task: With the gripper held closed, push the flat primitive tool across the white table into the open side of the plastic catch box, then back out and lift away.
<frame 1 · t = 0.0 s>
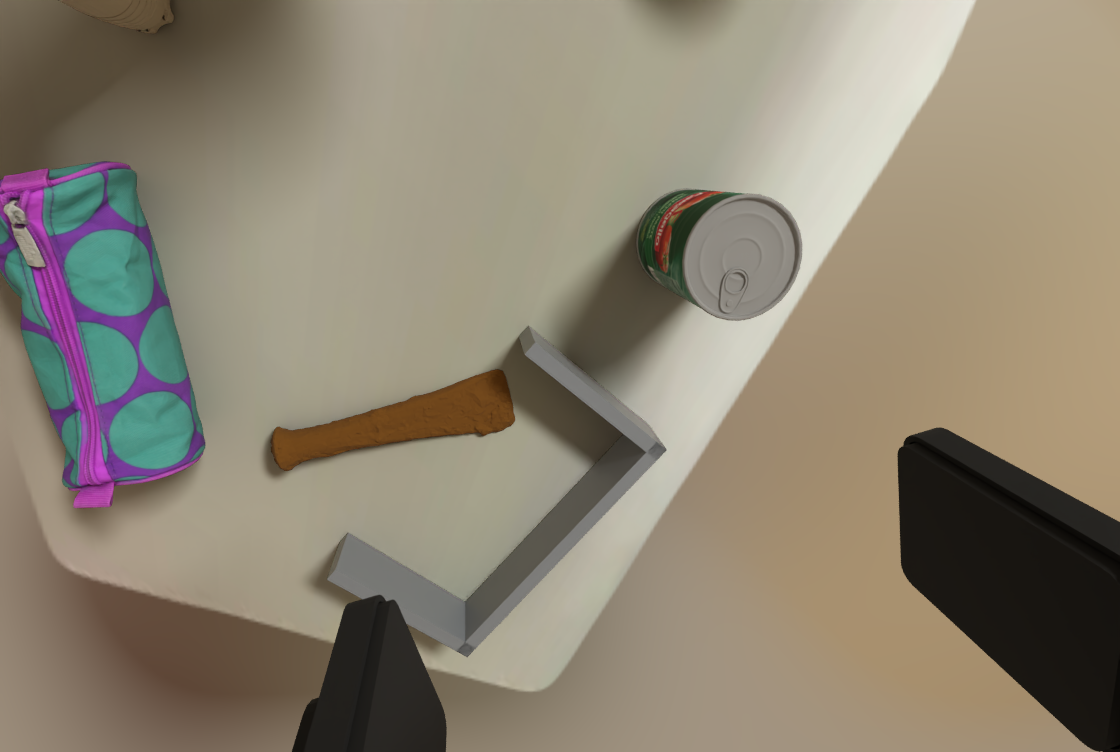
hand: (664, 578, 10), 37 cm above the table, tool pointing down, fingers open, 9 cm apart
pencil case: (137, 315, 43), on the table
catch box: (494, 482, 51), on the table
canned tomato: (682, 240, 47), on the table
primitive tool: (400, 412, 48), on the table
handle: (150, 6, 37), on the table
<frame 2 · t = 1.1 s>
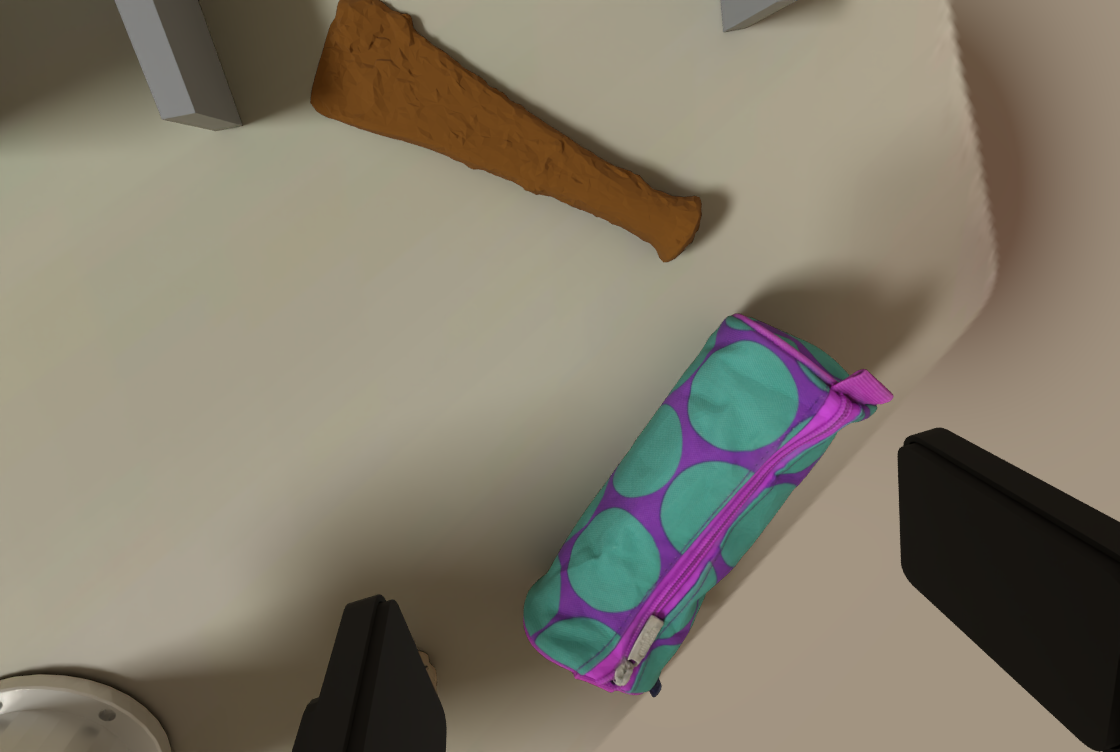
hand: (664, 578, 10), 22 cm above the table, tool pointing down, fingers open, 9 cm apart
pencil case: (660, 464, 36), on the table
primitive tool: (510, 153, 29), on the table
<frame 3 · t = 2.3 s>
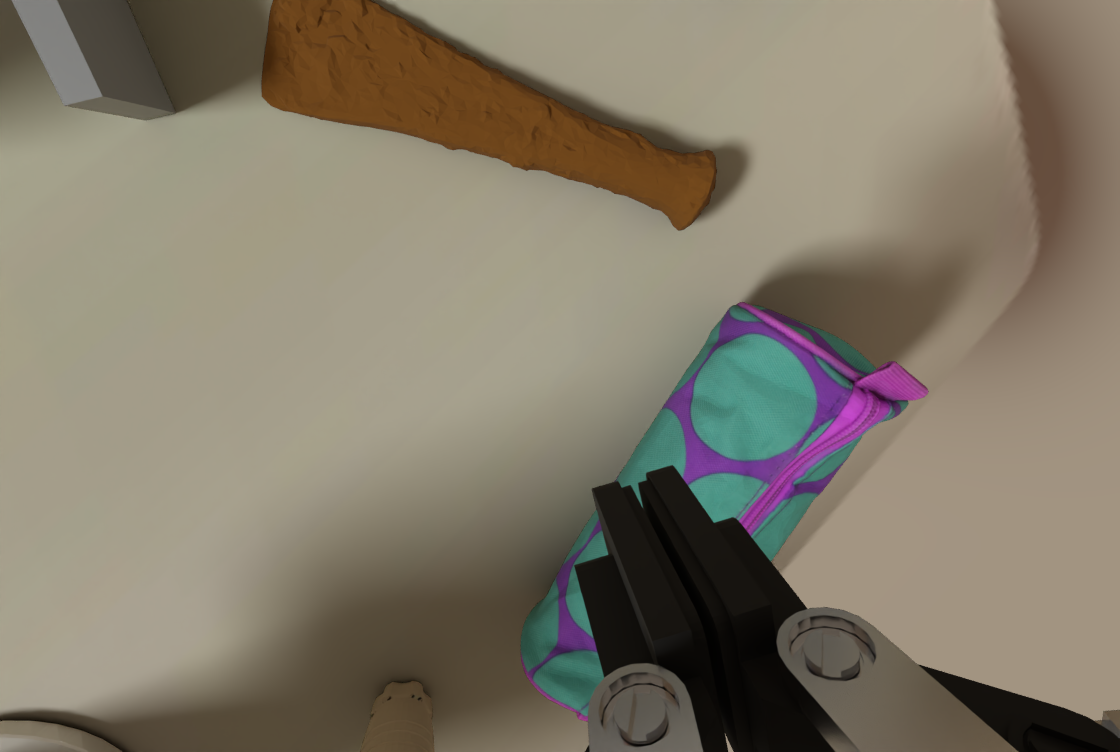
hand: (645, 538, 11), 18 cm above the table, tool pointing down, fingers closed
pencil case: (665, 471, 32), on the table
primitive tool: (492, 126, 26), on the table
handle: (404, 694, 34), on the table
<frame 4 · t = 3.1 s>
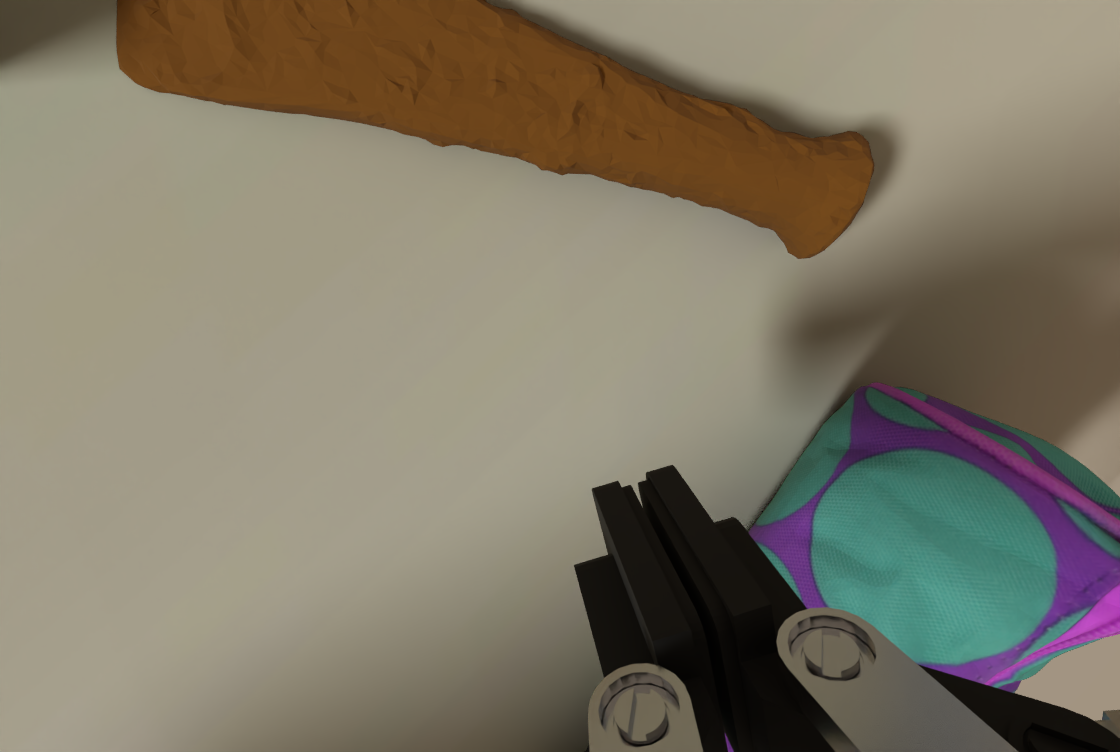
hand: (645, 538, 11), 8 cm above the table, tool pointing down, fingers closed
pencil case: (740, 602, 23), on the table
primitive tool: (504, 108, 16), on the table
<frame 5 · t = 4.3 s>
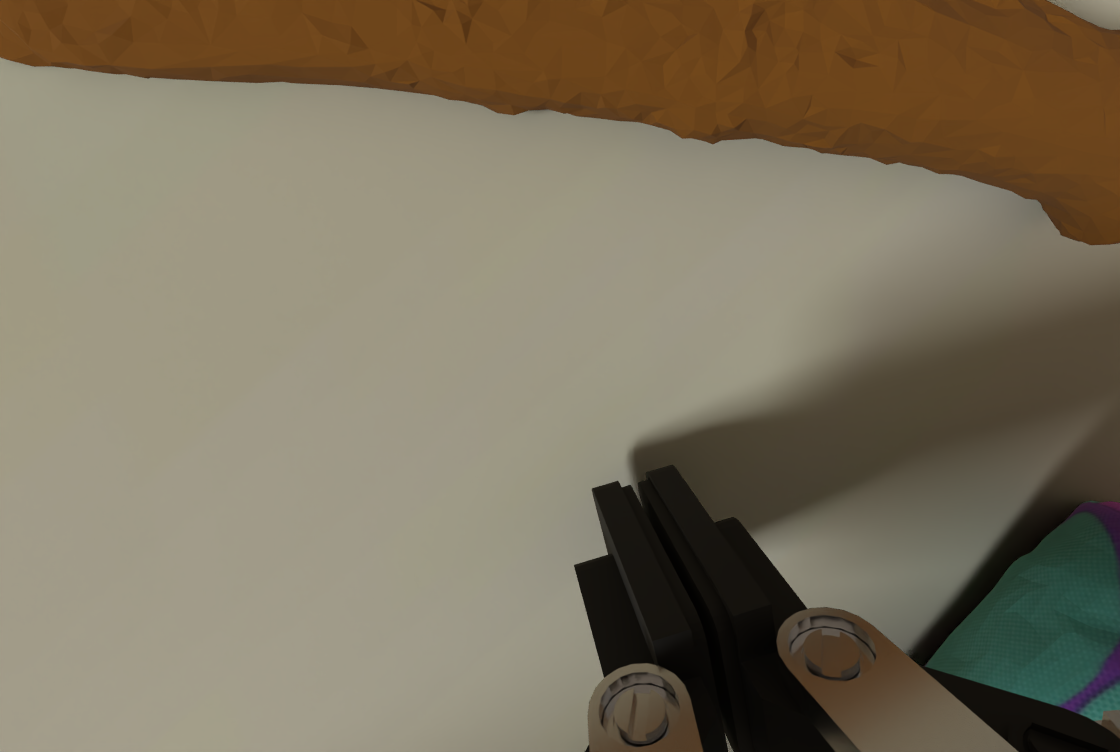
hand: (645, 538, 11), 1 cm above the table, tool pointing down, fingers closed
primitive tool: (602, 43, 10), on the table
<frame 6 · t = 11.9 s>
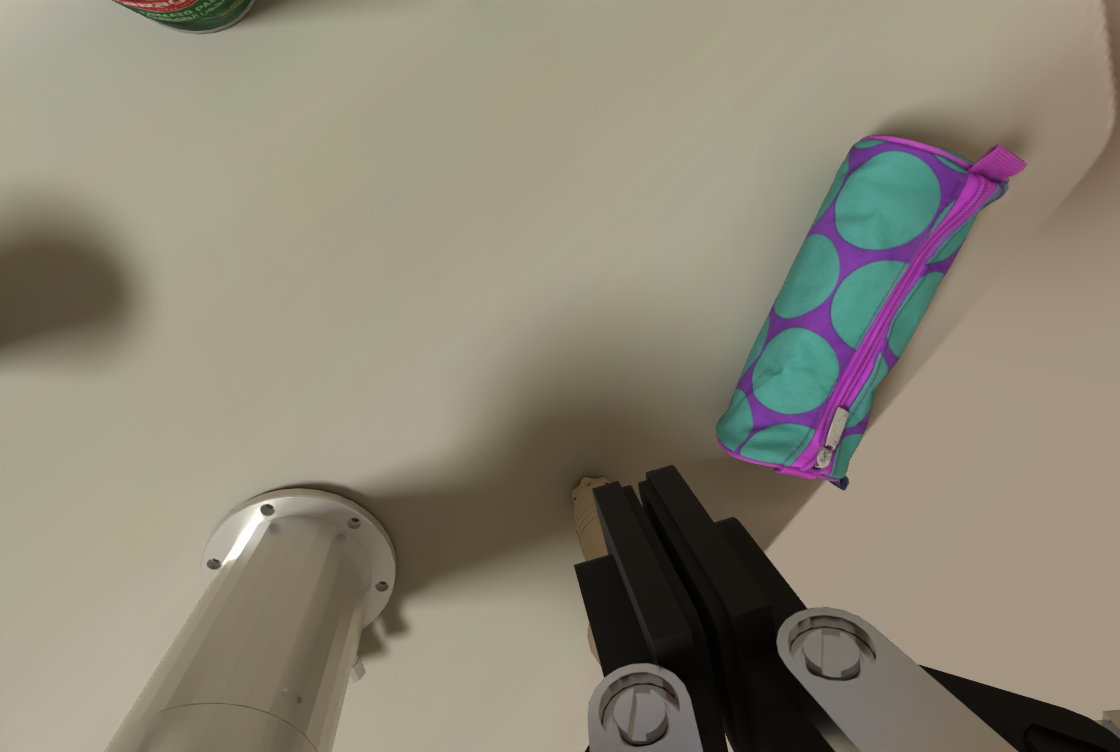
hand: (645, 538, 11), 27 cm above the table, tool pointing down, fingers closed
pencil case: (804, 302, 40), on the table
handle: (591, 491, 43), on the table
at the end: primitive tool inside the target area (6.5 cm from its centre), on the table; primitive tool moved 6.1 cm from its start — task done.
